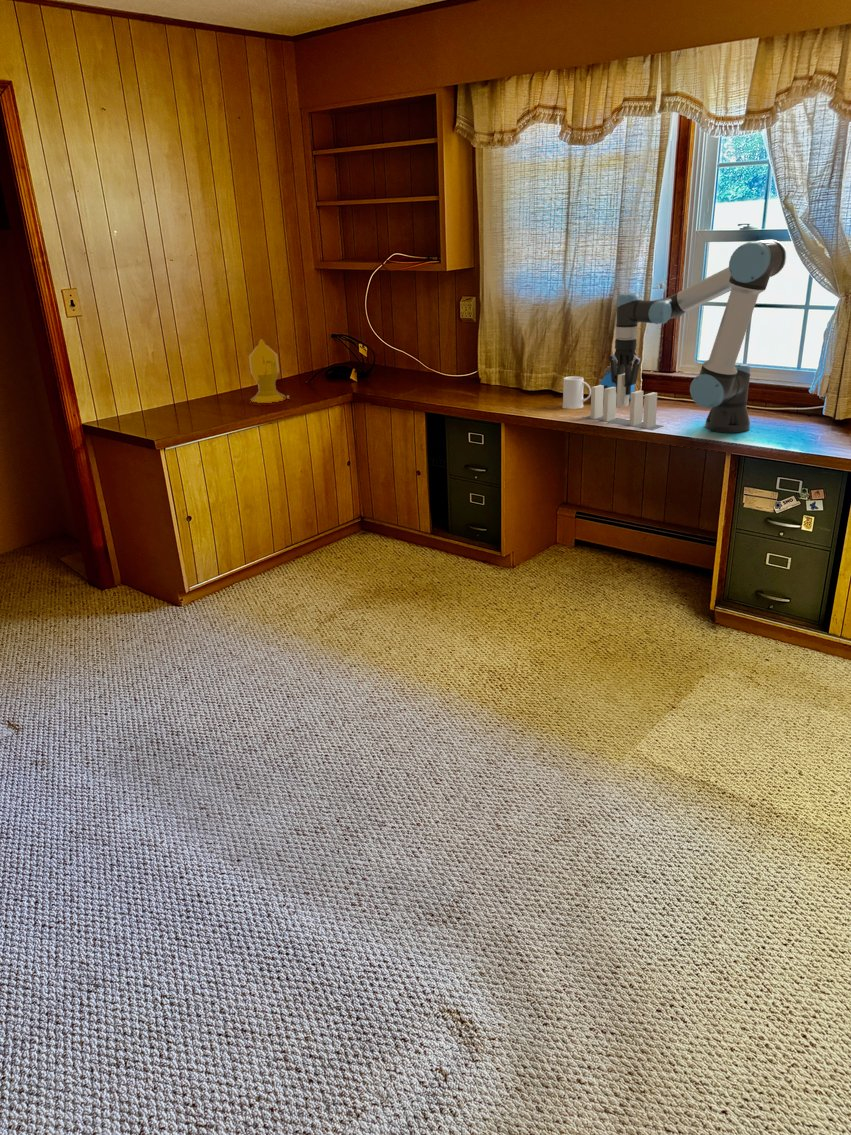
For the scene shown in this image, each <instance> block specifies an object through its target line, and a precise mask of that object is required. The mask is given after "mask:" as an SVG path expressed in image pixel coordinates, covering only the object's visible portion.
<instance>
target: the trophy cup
mask: <svg viewBox="0 0 851 1135" xmlns="http://www.w3.org/2000/svg"><path fill="white" fill-rule="evenodd" d="M248 359H249V360H248V361H249V368H250V374H251V376H252V377H253V379H254V380H255V382H256V383H257V387H258V391H257V392H256V394H255V395H254V396H252V397H251V398H250V399H249V400H251V401H252V402H257V403H272V402H279V401H283V400H285V399H286V398H287V399H289V400H290V395H289V394H288V395H285V394H283V393H281V392H280V391H278V389H277V386H276V381H277V379H278V376H279V374H280V365H279V356H278V353H277V352H275V351H274V350H273V349H272V348H271V347H270V346H269V345H267V344H266V342H265V340H264V339H262V338H261V339H259V341H258V345H257V346H255V347H254V349H253V351H252V352H251V353H250V354H249V356H248ZM251 401H250V402H251Z"/></svg>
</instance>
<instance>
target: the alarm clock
mask: <svg viewBox="0 0 851 1135" xmlns="http://www.w3.org/2000/svg"><path fill="white" fill-rule="evenodd" d="M624 373H625V368H624V372H623V374H624ZM603 375H604V376H603V377H602V379H601V381H600V384H599V385H604V389H606V388H610V387H616V384H615V383H612V380H611V366H607V367H606V368H605V369H604V371H603ZM635 388H636V384H634V385H631V393H632V392H635ZM631 393H630V395H629V399H631ZM603 399H604V394H603ZM616 404H617V393H616Z"/></svg>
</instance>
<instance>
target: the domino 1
mask: <svg viewBox="0 0 851 1135" xmlns="http://www.w3.org/2000/svg"><path fill="white" fill-rule="evenodd" d="M590 388H591V395H590V415H591V418H592V419H596V418H599V417H603V410H604V398H603V394H604V385H600V384H598V385H596V386H590Z"/></svg>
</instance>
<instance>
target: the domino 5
mask: <svg viewBox="0 0 851 1135" xmlns="http://www.w3.org/2000/svg"><path fill="white" fill-rule="evenodd" d="M643 404H644V405H643V417H642V422H643V428H649V427H652V426H655V425H657V424H656V423H657V422H656V420H657V406H658V392H653V391H652V392H650V393H647V394H646V393H645V394H644V399H643Z"/></svg>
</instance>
